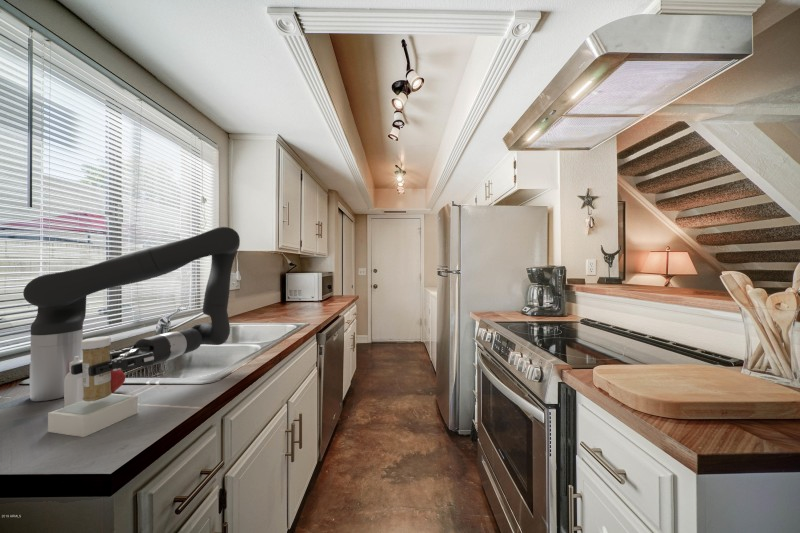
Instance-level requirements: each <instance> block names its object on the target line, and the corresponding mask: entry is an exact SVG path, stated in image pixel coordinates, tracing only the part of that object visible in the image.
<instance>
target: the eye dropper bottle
mask: <svg viewBox="0 0 800 533" xmlns="http://www.w3.org/2000/svg"><path fill="white" fill-rule="evenodd" d="M82 362H83V360H80V359H79V356H75V357H74V360H73V361H72V362H70V363H69V371H70V372H69V373H68V374H67V375H66V376H65V379H64V397H63V398H64V399H63V407H66V406H69V405H72V404H75V403H78V402H80V401H83V397H84V387H83V373H81V374H77V375H72V374H71V366H72V365H74V364H78V363H82Z"/></svg>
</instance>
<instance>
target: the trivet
mask: <svg viewBox="0 0 800 533" xmlns="http://www.w3.org/2000/svg"><path fill="white" fill-rule="evenodd" d="M138 398H139V397H138V395H130V394H120V393H111V395H109V396H107V397H105V398H102V399H99V400H96V401H84V400H83V401H80V402H78V403H75V404H72V405H69V406H66V407H64V406H63V407H61V408H58V409H56V410H53V411H49V412H48V413H47V432H48V433H53V434H59V435H67V436H75V437H79V438H80V437H82V438H86V437H87V436H89V435H92V434H93V433H94V434H95V433H96V432H98V431H99V432H100V431H101V430H103V429H105V428H107V427H110V426H112V425H113V424H114V425H115V424H116V423H118V422H120V421H123V420H125V419H128V418H129V417H132V416H134V415H136V414H138V412H139V411H138V410H139V408H138V407H139V404H138V403H139V399H138Z"/></svg>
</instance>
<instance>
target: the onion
mask: <svg viewBox="0 0 800 533" xmlns="http://www.w3.org/2000/svg"><path fill="white" fill-rule="evenodd" d="M125 381H126V374H125V373H124V372H123V370H121V369H119V370H117V371H112V370H111V392H112V393H113V394H115V392H116V391H117V390H118V389H119V388H120V387H122V386H123V384H125Z"/></svg>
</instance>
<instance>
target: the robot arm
mask: <svg viewBox="0 0 800 533" xmlns="http://www.w3.org/2000/svg"><path fill="white" fill-rule="evenodd" d="M240 241H241V240H240V235H239V233H238V232H237V231H236V230H235V229H233V228H231V227H228V226H218V227H215V228H212V229H210V230H207V231H204V232H202V233H199V234H196V235H193V236H190V237H188V238H183V239H179V240H174V241H169V242H165V243H161V244H155V245H153V246H148V247H145V248H142V249H138V250H137V249H136V250H135V251H131V252H128V253H124V254H121V255H117V256H115V257H112V258H109V259H107V260H103V261H101V262H98V263H95V264H92V265H88V266H84V267H79V268H74V269H70V270H64V271H59V272H53V273H47V274H43V275H39V276H37V277H35V278H33V279H32V280H31V281H29V282H28V283H27V284H26V285H25V286H24V288H23V292H22V294H23V297H24V300H25V301H26V302H27V303H29V304H30V305H32V306H34V307H37V314H36V317H35V319H34V320H33V322H32V323H31V324H30V363H29V398H30V400H29V401H32V402H45V401H52V400H56V399H61V398H64V379H65V376H66V375H67V374H68V373H69V372H70V371H69V363H70V362H72V361H73V360H74V357H75V356H79V359H80V360H83V351H82V350H83V349H81V341H82V340H84V338H83V336H84V334H83V332H84V331H83V328H84V327H83V326H84V321H85V319H86V314H87V310H86V309H87V296H89V295H92V294H96V293H97V292H100V291H104V290H107V289H111V288H116V287H120V286H125V285H132V284H135V283H140V282H143V281H148V280H151V279H154V278H159V277H160V276H161V277H162V276H164V275H167V274H169V273H172V272H175V271H176V270H178V269H180V268H182V267H184V266H186V265H188V264H190V263H192V262H194V261H196V260H200V259H202V258H206V257H211V265H210V272H209V277H208V279H207V284H206V286H205V291H204V297H203V298H204V299H203V303H202V313H203V314H204V315H206V316H209V317H210V320H211V322H200V323H197V324H194V325H192V326H190V327H188V328H185V329H181V330H180V329H179V330H177V331H171V332H165V333H160V334H156V335H152V336H148V337H144V338H140V339H138V340H137V341H136V342H135V343H134V345H132V347H126V348H122V349H120V350H117V351H116V350H114V349H111V350H110V361H106V362H103V363H99V364H96V365H92V366H90V367H89V368H88V375H89V376H96V375H99V374H102V373H105V372H109V371H111V370H112V371H117V370H119V369H120V370H121V371H127V370H130V369H131V370H132V369H135V368H138V367H142V368H148V367H151V366H155V365H158V364H161V363H164V362H167V361H170V360H173V359H176V358H178V357H180V356H182V355H185V354H187V353H188V354H189V353H191V352H194V351H196V350H197V349H198V348H200V347H201V345H206V346H207V345H210V346H221V345H224V343H225V342H227V340H228V338H229V337H230V334H231V327H230V326H231V325H230V321H229V313H228V305H229V297H230V287H231V278H232V277H231V276H232V270H233V269H232V268H233V266H234V265H233V263H234V261H235V258H236V254H237V252H238V250H239V248H240V244H241V243H240ZM82 363H83V362H82ZM82 363H78V364H74V365H72V366H71V374H72V375H77V374H81V373H83V368H82Z"/></svg>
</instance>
